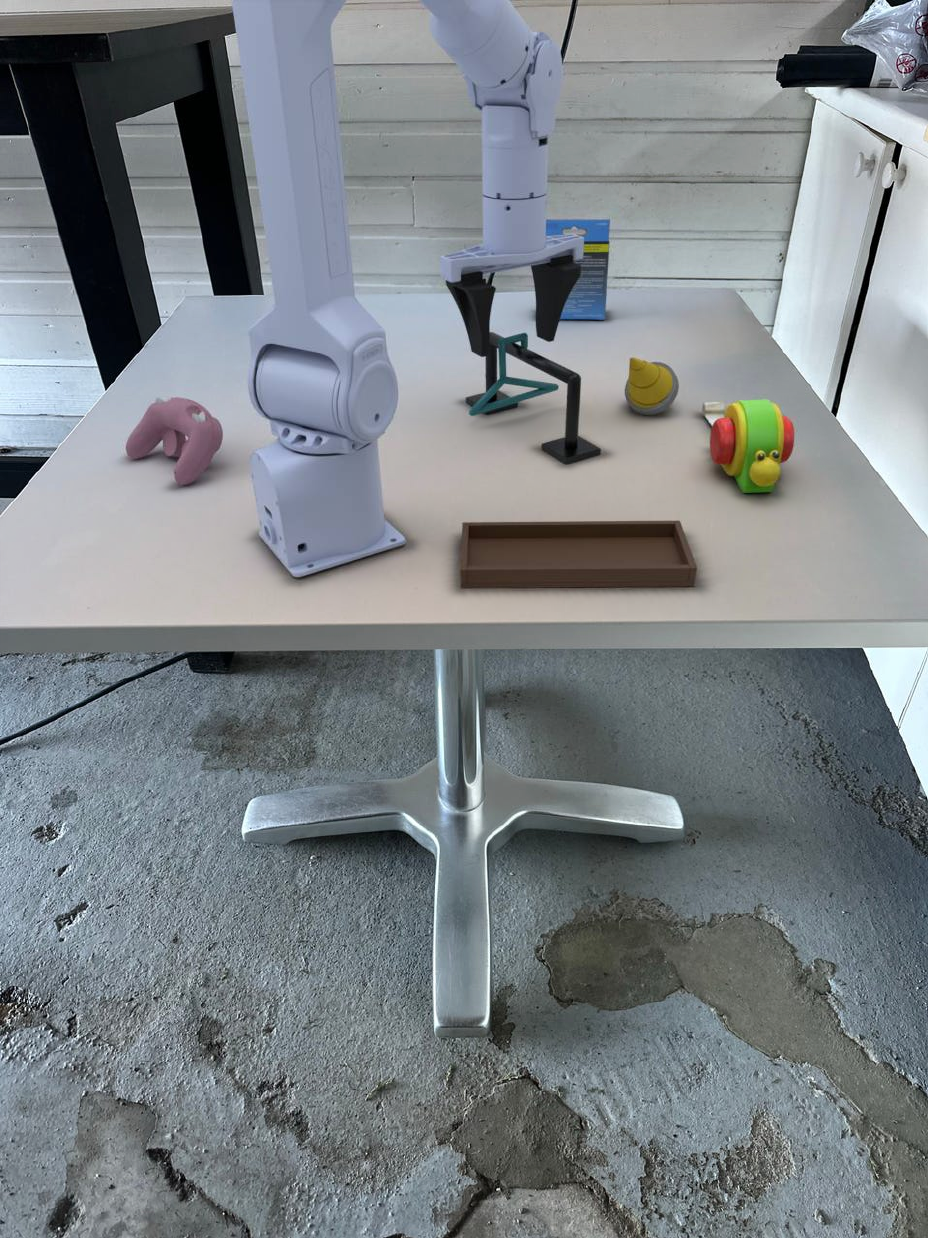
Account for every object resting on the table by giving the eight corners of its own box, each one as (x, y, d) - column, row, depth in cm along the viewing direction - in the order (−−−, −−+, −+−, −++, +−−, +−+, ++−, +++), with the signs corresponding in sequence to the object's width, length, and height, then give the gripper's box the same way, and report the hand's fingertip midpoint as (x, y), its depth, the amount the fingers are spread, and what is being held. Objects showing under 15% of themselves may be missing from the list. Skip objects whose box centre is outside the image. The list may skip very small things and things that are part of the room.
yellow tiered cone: (690, 416, 91) (662, 371, 83) (640, 433, 93) (608, 391, 85) (681, 371, 93) (652, 322, 84) (632, 388, 95) (599, 343, 87)
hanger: (471, 417, 88) (467, 349, 84) (467, 415, 88) (463, 347, 84) (559, 390, 92) (560, 324, 88) (555, 388, 92) (556, 322, 88)
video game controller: (220, 491, 82) (237, 416, 80) (177, 486, 78) (193, 408, 77) (162, 461, 88) (177, 390, 86) (119, 455, 84) (134, 381, 82)
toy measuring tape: (725, 505, 75) (737, 432, 71) (680, 414, 90) (688, 350, 87) (801, 504, 74) (818, 430, 71) (743, 413, 90) (754, 349, 86)
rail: (565, 464, 82) (569, 384, 77) (465, 402, 94) (463, 330, 90) (600, 454, 83) (606, 375, 79) (497, 394, 96) (497, 323, 92)
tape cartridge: (604, 311, 119) (611, 212, 112) (605, 321, 116) (612, 219, 109) (538, 311, 120) (540, 212, 113) (536, 320, 117) (539, 219, 110)
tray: (460, 588, 65) (460, 569, 64) (462, 539, 71) (462, 521, 70) (694, 586, 65) (697, 567, 64) (677, 537, 70) (680, 520, 69)
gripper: (555, 177, 85) (550, 322, 92) (421, 196, 79) (428, 348, 87) (601, 188, 80) (592, 340, 87) (461, 209, 74) (465, 369, 82)
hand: (513, 346), depth 87 cm, fingers open, 7 cm apart
